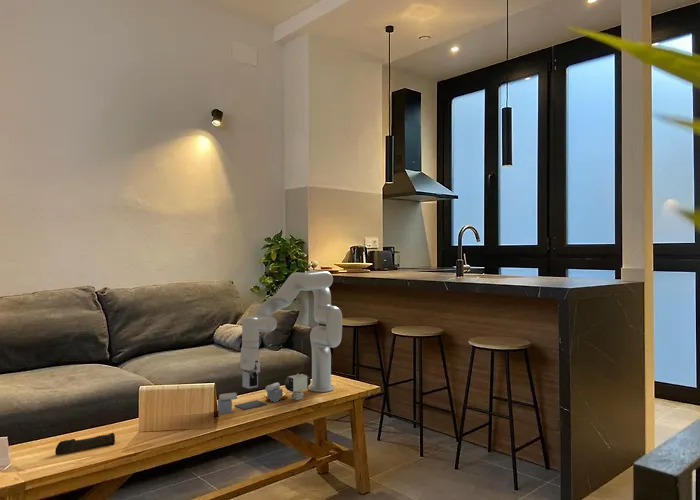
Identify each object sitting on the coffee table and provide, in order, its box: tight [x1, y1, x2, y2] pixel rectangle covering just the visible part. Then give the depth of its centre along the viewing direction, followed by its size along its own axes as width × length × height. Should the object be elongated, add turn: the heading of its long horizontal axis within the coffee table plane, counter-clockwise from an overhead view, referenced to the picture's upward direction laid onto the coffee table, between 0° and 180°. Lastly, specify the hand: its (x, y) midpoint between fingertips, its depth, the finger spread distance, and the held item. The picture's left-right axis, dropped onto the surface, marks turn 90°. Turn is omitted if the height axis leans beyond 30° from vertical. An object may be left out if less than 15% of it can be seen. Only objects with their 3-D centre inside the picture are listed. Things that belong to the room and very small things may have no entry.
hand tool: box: [54, 432, 116, 455], centre depth 188 cm, size 19×4×5 cm, turn 124°
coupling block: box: [241, 370, 259, 390], centre depth 238 cm, size 5×5×8 cm
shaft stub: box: [217, 392, 238, 415], centre depth 230 cm, size 8×5×8 cm, turn 117°
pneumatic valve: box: [284, 373, 312, 401], centre depth 248 cm, size 6×12×12 cm, turn 127°
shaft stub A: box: [265, 382, 284, 403], centre depth 245 cm, size 8×5×8 cm, turn 147°
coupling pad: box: [234, 399, 268, 411], centre depth 238 cm, size 12×8×1 cm, turn 132°
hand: (250, 384), depth 238 cm, fingers closed on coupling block, 5 cm apart
